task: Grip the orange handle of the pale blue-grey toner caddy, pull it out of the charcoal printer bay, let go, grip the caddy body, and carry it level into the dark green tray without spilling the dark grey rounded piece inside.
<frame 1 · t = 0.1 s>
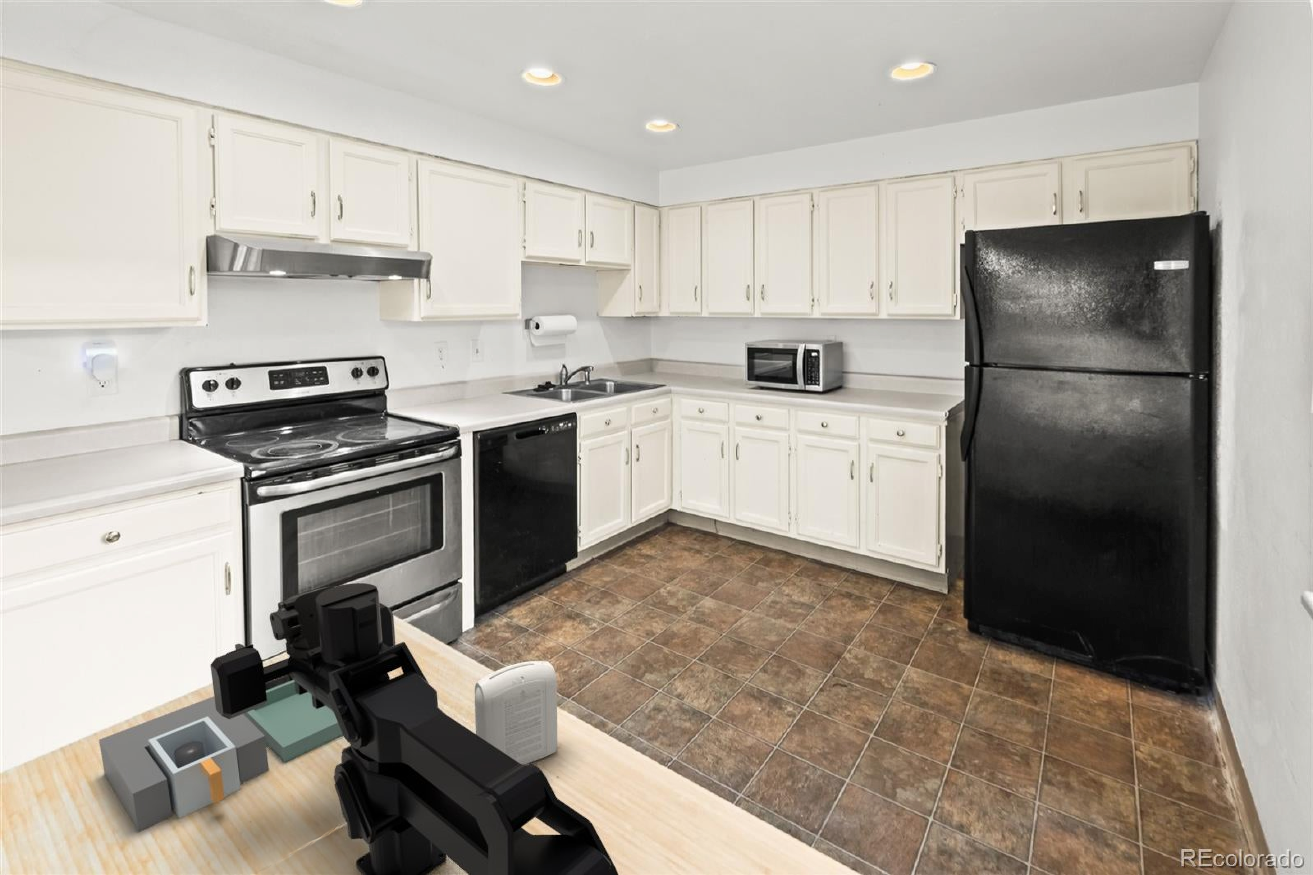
hand: (279, 633, 81), 17 cm above the countertop, tool horizontal, fingers open, 9 cm apart
dark grey rounded piece: (192, 779, 79), resting on toner caddy
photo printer: (518, 759, 84), on the countertop
toner caddy: (197, 789, 78), on the countertop, touching dark grey rounded piece
tray: (302, 722, 91), on the countertop
printer bay: (187, 775, 81), on the countertop
air freshener: (360, 655, 109), on the countertop
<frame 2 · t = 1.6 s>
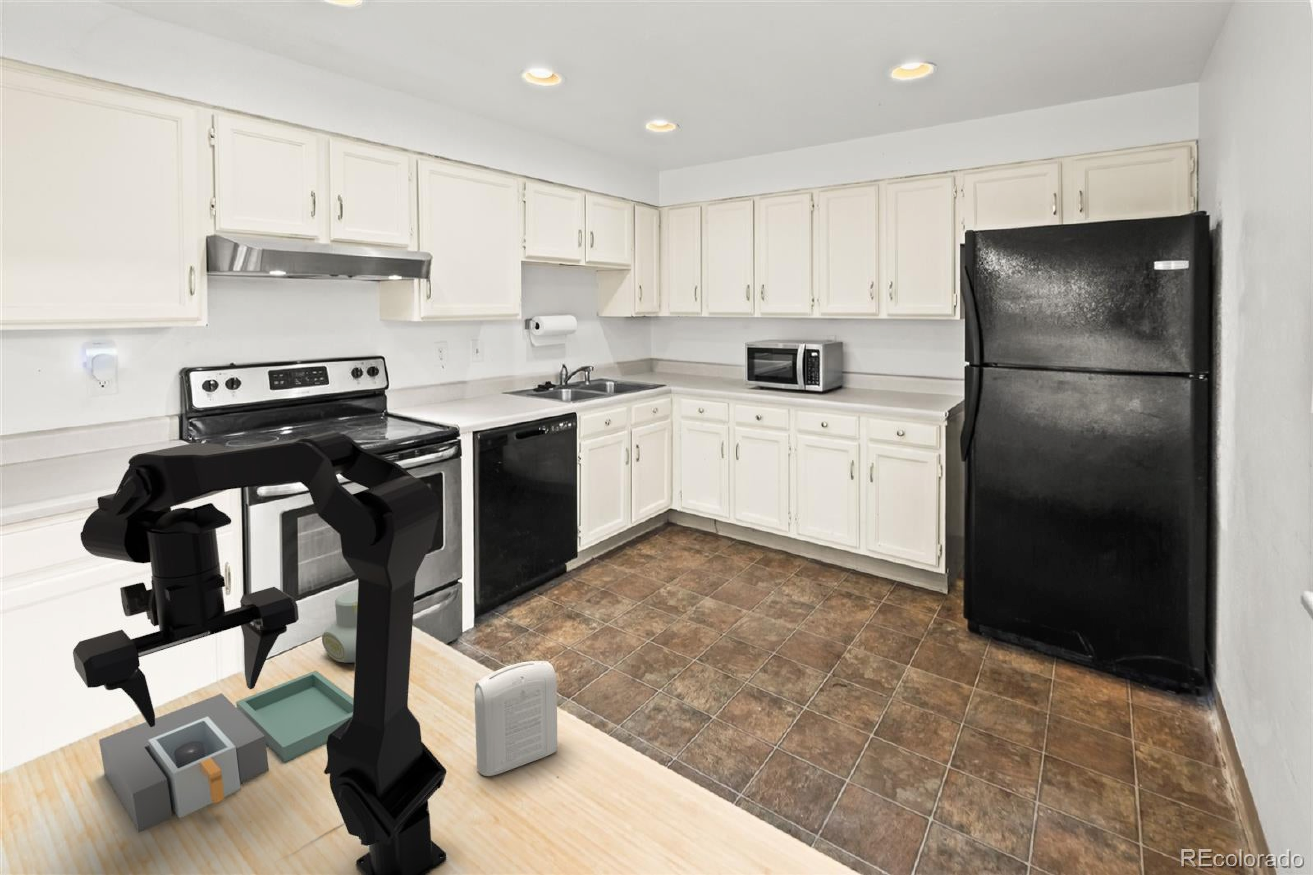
hand: (203, 705, 72), 13 cm above the countertop, tool pointing down, fingers open, 9 cm apart
nothing on the countertop moved.
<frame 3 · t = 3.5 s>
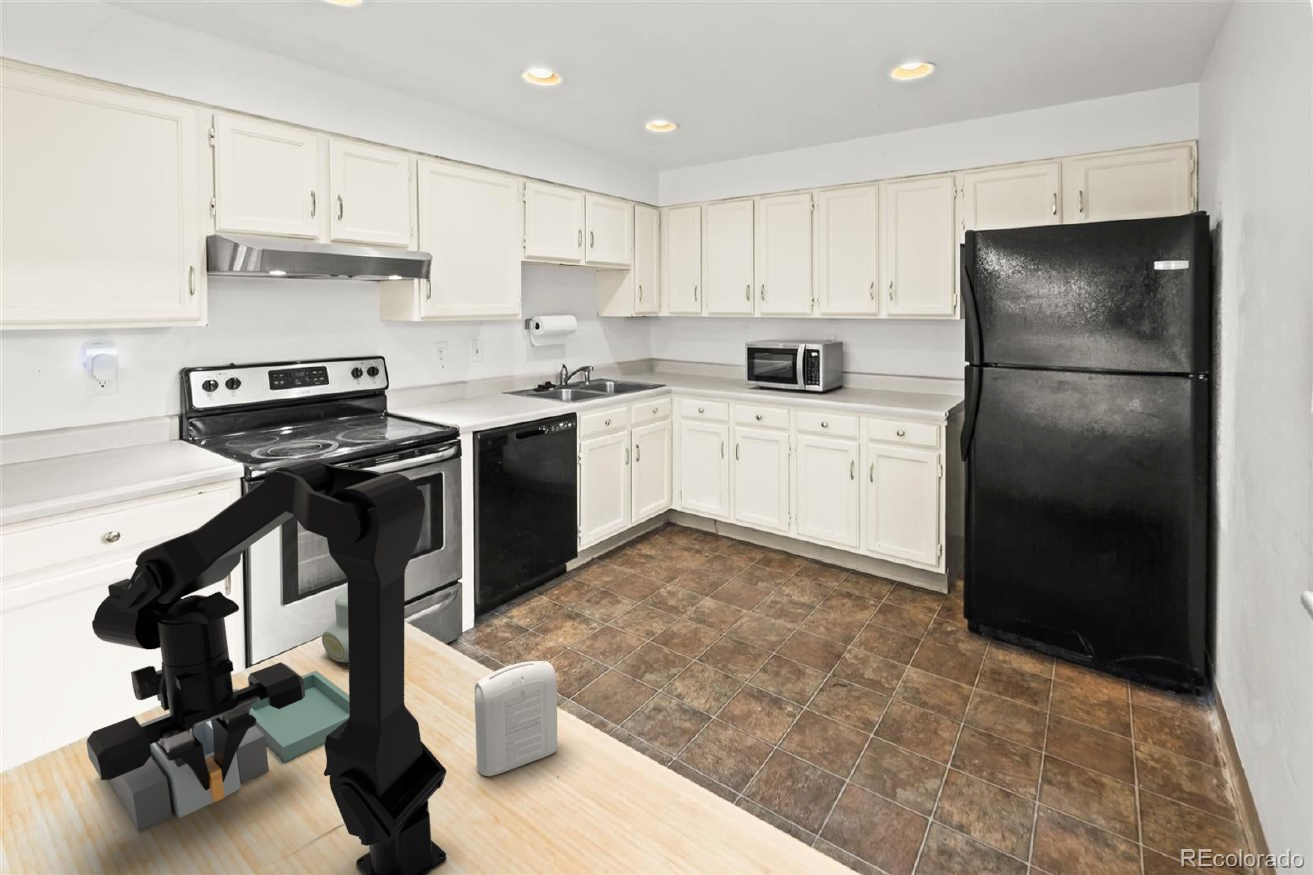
hand: (213, 785, 74), 4 cm above the countertop, tool pointing down, fingers closed on toner caddy
toner caddy: (197, 788, 78), on the countertop, touching gripper, dark grey rounded piece
everything else where it was.
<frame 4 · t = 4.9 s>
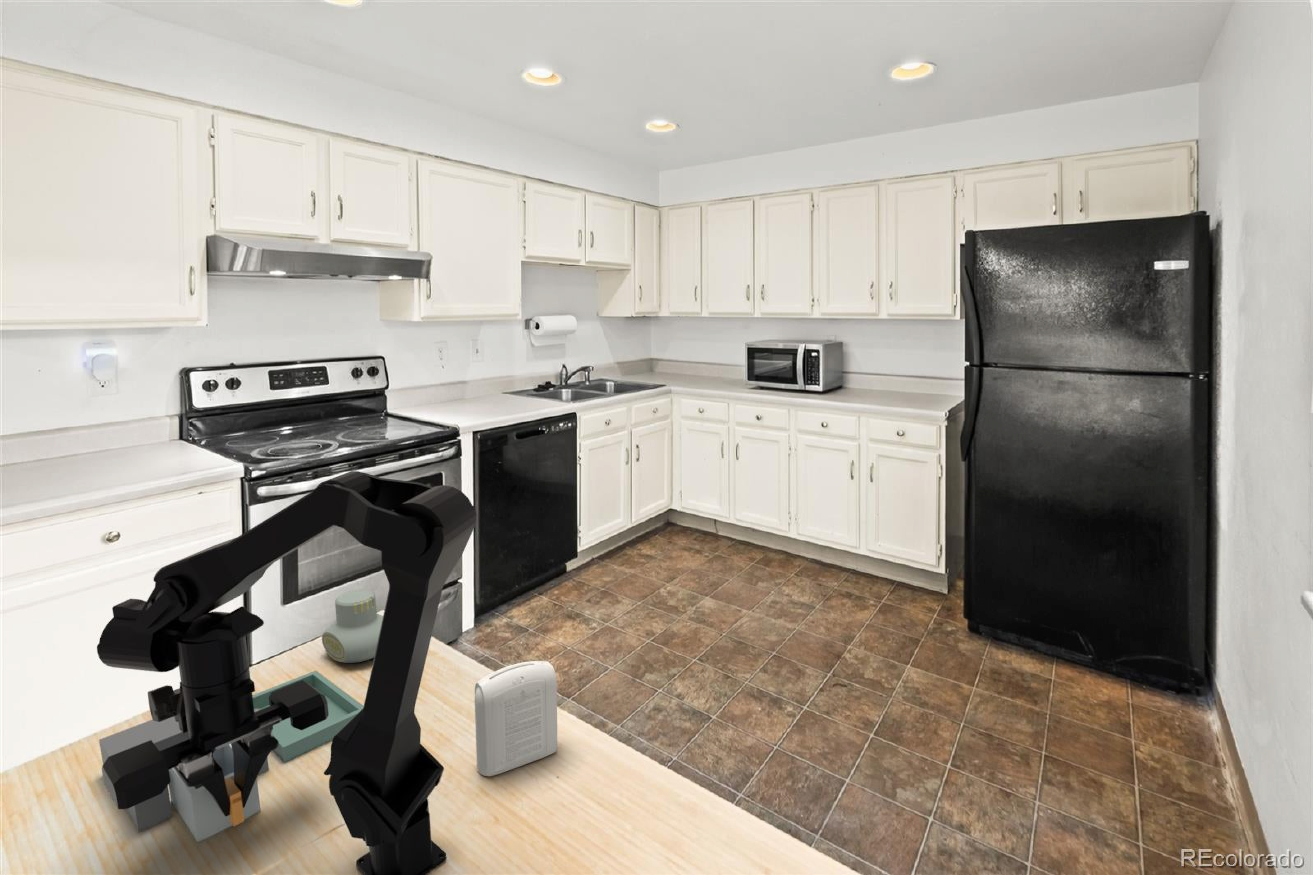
hand: (233, 810, 70), 3 cm above the countertop, tool pointing down, fingers closed on toner caddy
dark grey rounded piece: (210, 798, 76), point 1 cm above the countertop, touching toner caddy
toner caddy: (216, 809, 75), on the countertop, touching gripper, dark grey rounded piece
everything else where it was.
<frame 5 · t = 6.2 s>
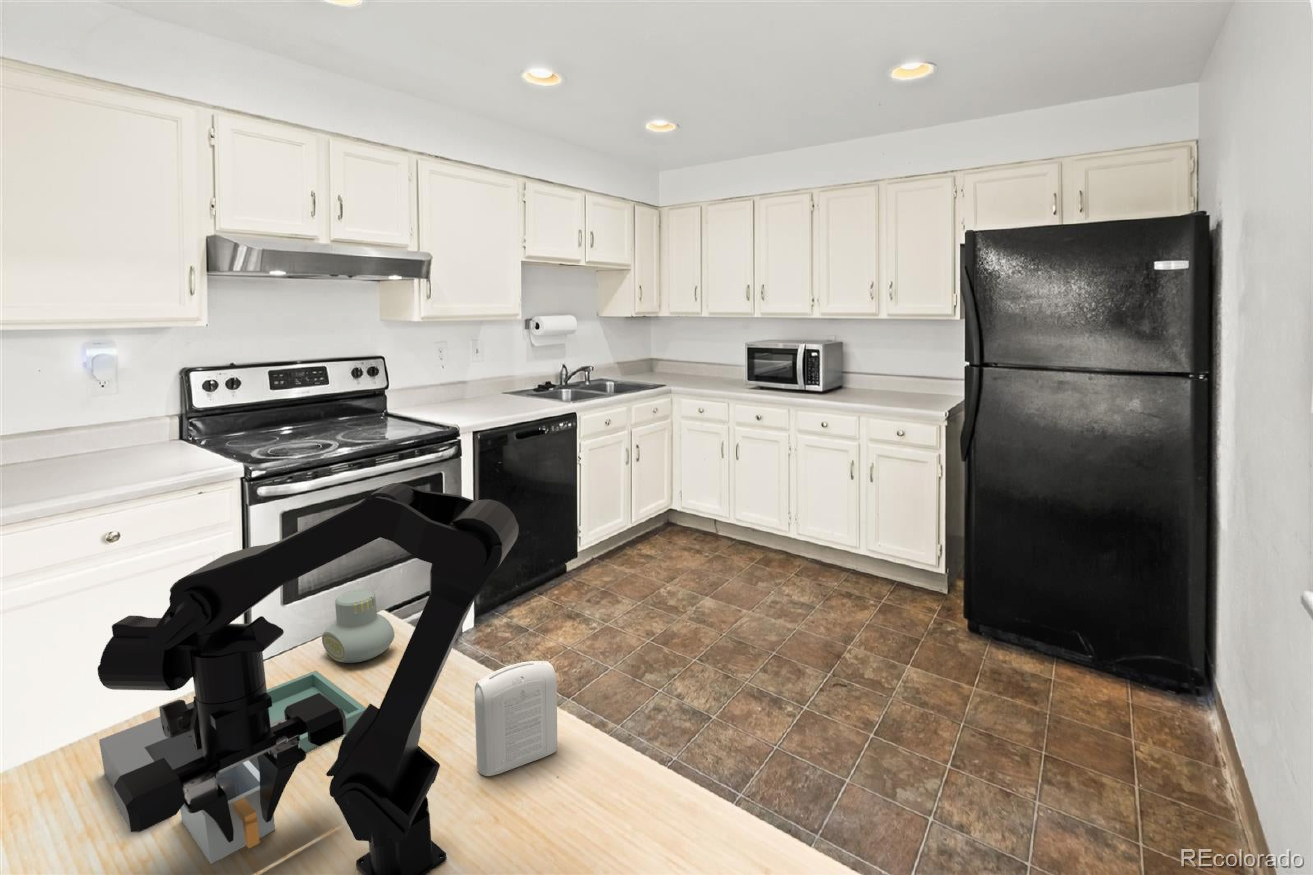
hand: (248, 829, 68), 3 cm above the countertop, tool pointing down, fingers open, 3 cm apart
dark grey rounded piece: (223, 818, 73), resting on toner caddy
toner caddy: (228, 829, 72), on the countertop, touching dark grey rounded piece
everything else where it was.
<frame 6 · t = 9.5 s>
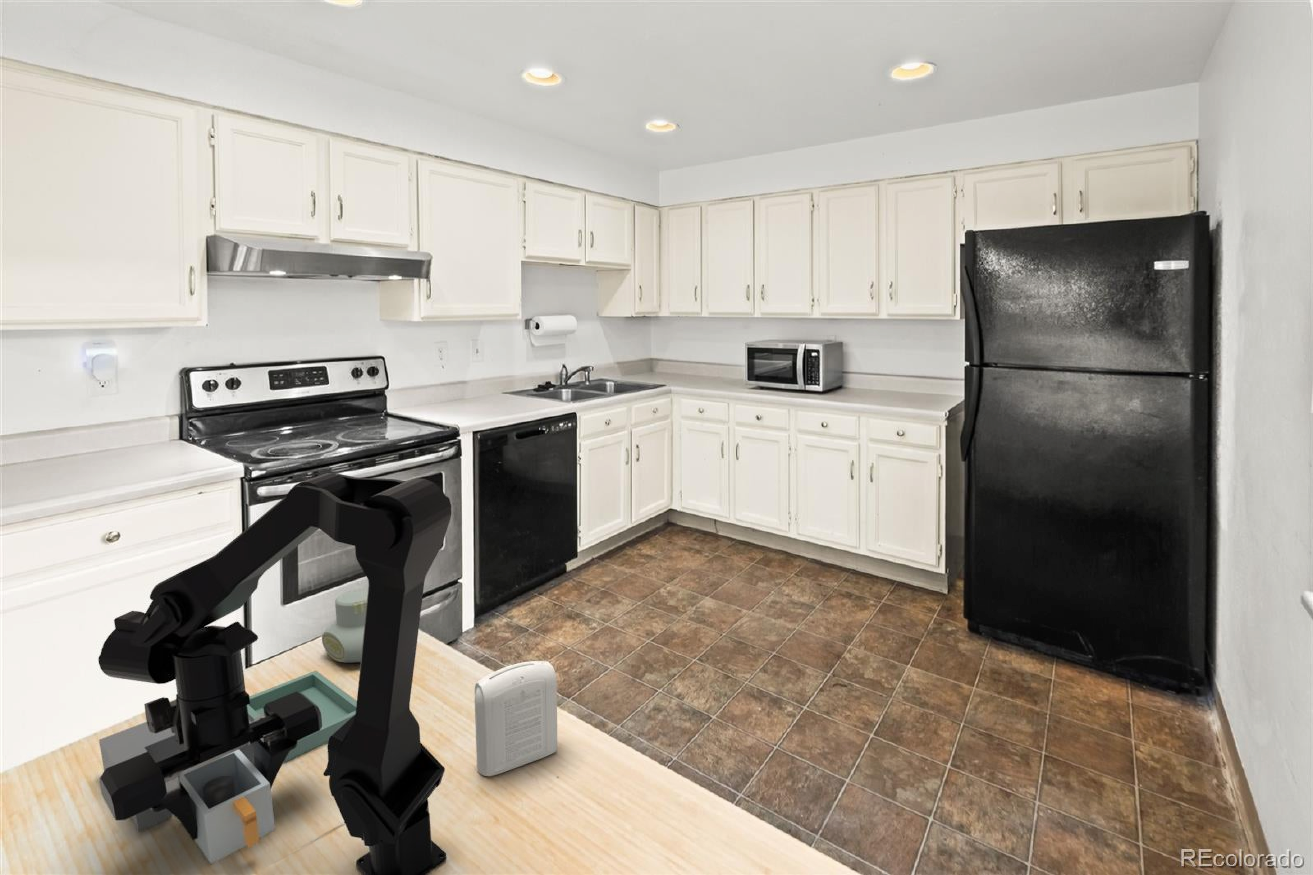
hand: (228, 819, 72), 1 cm above the countertop, tool pointing down, fingers closed on toner caddy, 6 cm apart
toner caddy: (228, 829, 72), on the countertop, touching gripper, dark grey rounded piece
everything else where it was.
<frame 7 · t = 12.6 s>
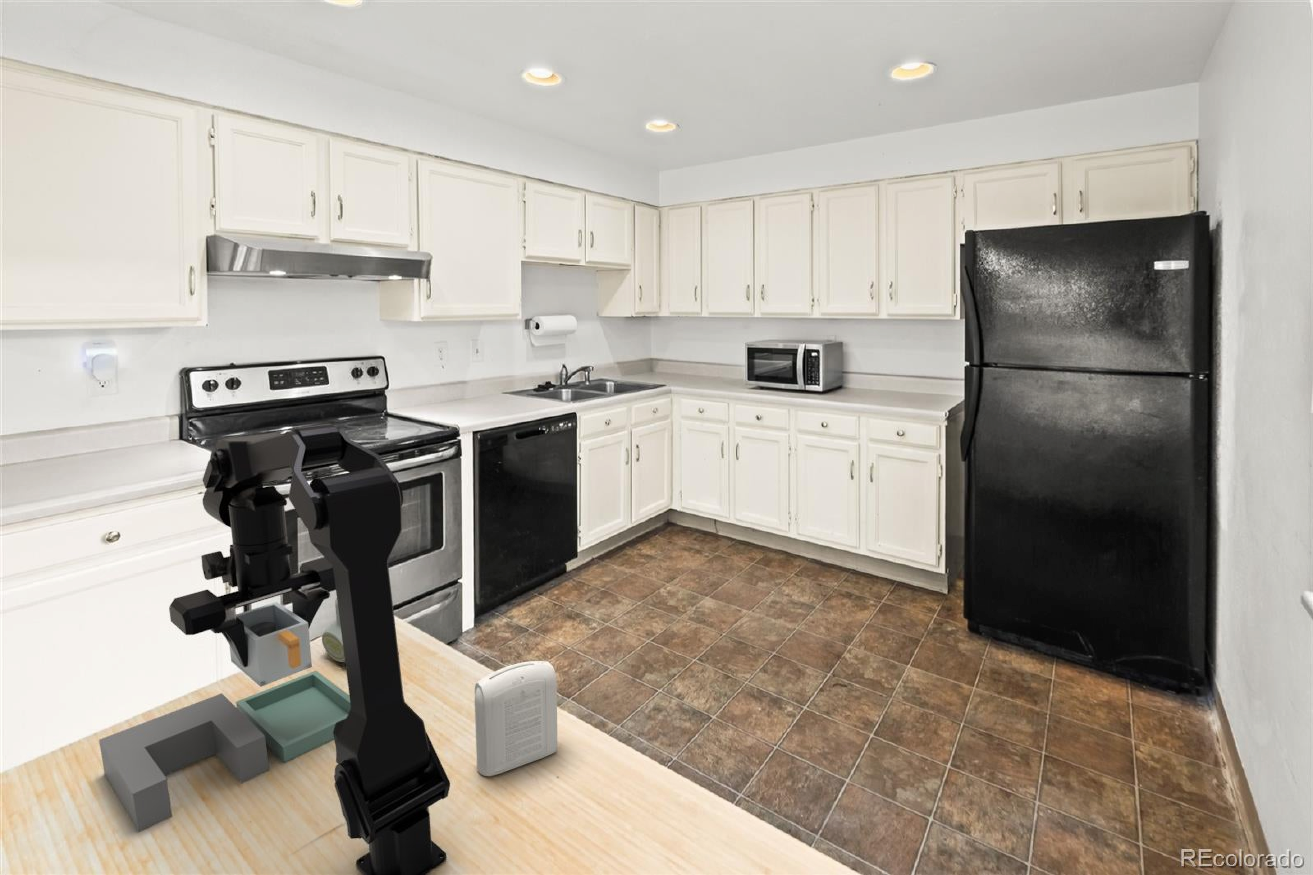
hand: (272, 655, 85), 12 cm above the countertop, tool pointing down, fingers closed on toner caddy, 6 cm apart
dark grey rounded piece: (265, 655, 86), point 11 cm above the countertop, touching toner caddy
toner caddy: (271, 664, 85), point 11 cm above the countertop, touching gripper, dark grey rounded piece
everything else where it was.
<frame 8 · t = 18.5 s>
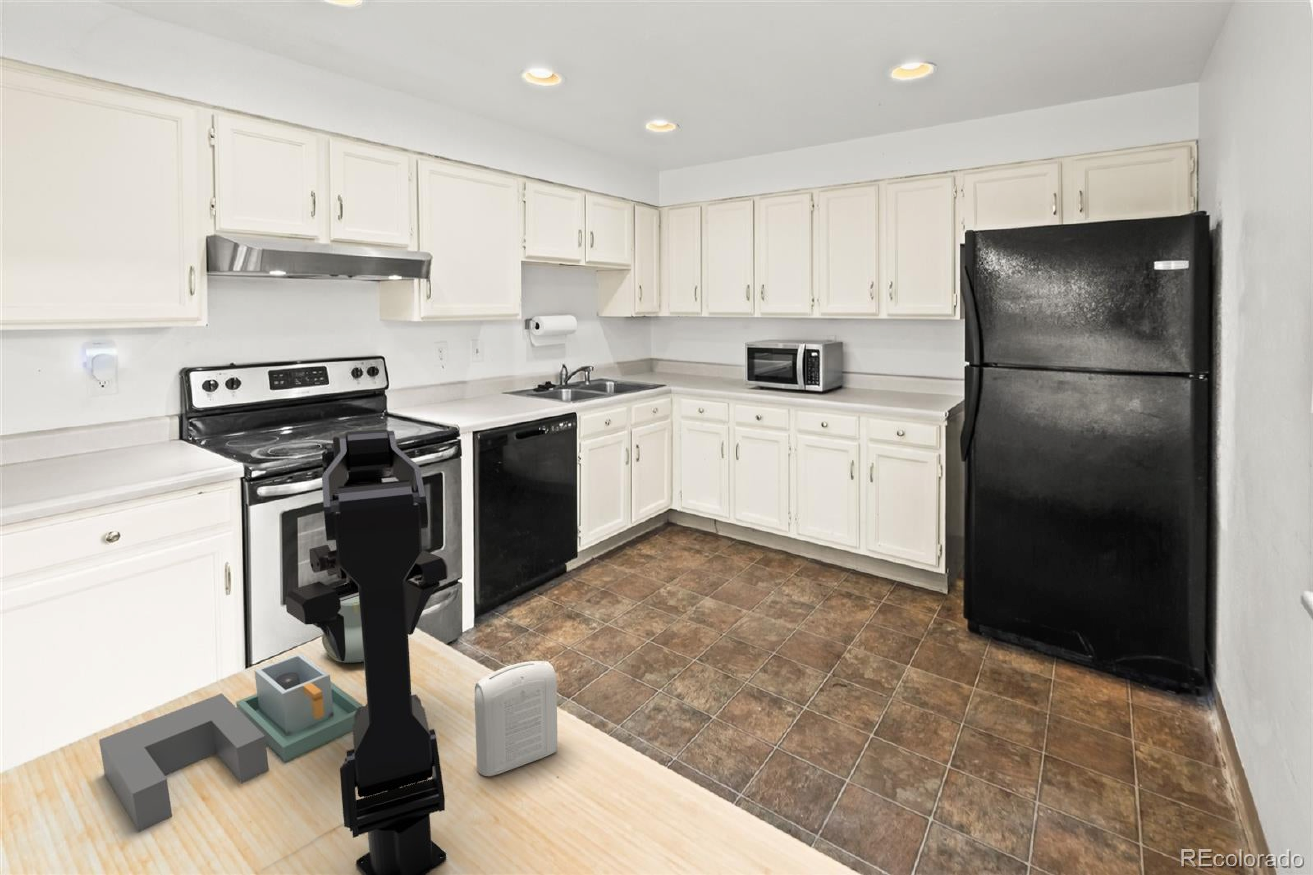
hand: (376, 646, 87), 12 cm above the countertop, tool pointing down, fingers open, 9 cm apart
dark grey rounded piece: (290, 704, 93), point 1 cm above the countertop, touching toner caddy
toner caddy: (296, 712, 92), point 1 cm above the countertop, touching dark grey rounded piece, tray
everything else where it was.
at the end: toner caddy 0.4 cm from the target spot on the tray, point 0.6 cm above the tray's base; toner caddy tilted 0°; dark grey rounded piece 1.5 cm from the toner caddy (horizontally) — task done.
